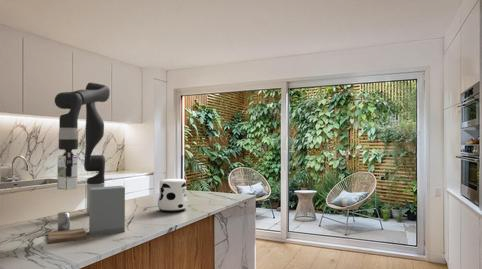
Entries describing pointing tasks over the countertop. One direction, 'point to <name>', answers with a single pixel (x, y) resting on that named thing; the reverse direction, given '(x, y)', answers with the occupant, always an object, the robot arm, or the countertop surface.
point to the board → (67, 235)
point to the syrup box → (62, 179)
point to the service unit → (107, 210)
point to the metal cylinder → (63, 221)
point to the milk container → (172, 195)
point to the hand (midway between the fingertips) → (68, 175)
